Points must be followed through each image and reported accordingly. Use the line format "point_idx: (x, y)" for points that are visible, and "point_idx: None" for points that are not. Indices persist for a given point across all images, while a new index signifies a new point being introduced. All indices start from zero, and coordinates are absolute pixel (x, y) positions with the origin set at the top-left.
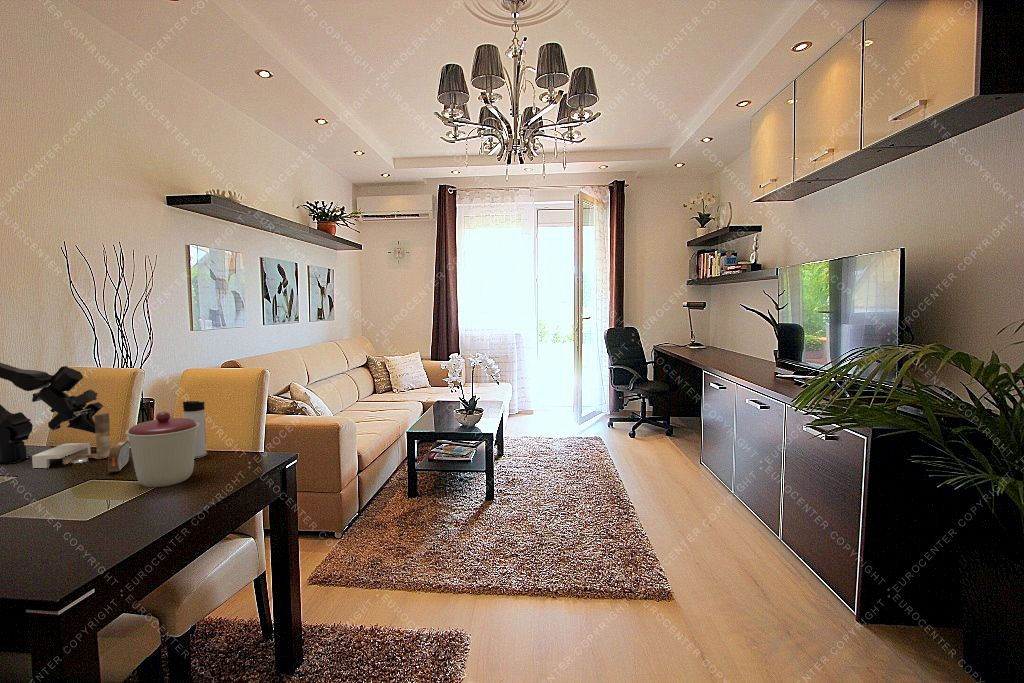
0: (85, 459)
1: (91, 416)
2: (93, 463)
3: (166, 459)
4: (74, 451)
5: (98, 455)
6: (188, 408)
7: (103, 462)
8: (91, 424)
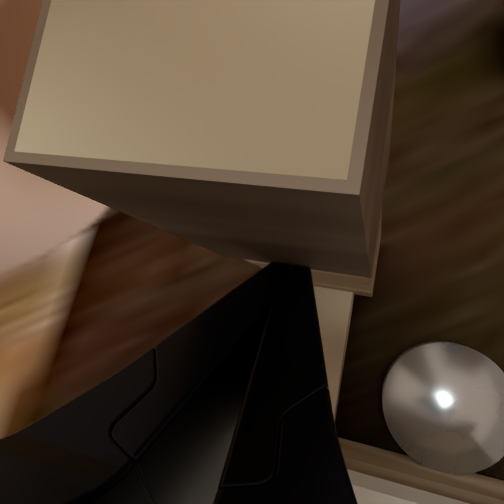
0: (468, 351)
1: (6, 455)
2: (480, 284)
3: None
4: (400, 487)
5: (373, 284)
6: None
7: (467, 217)
8: (285, 358)
